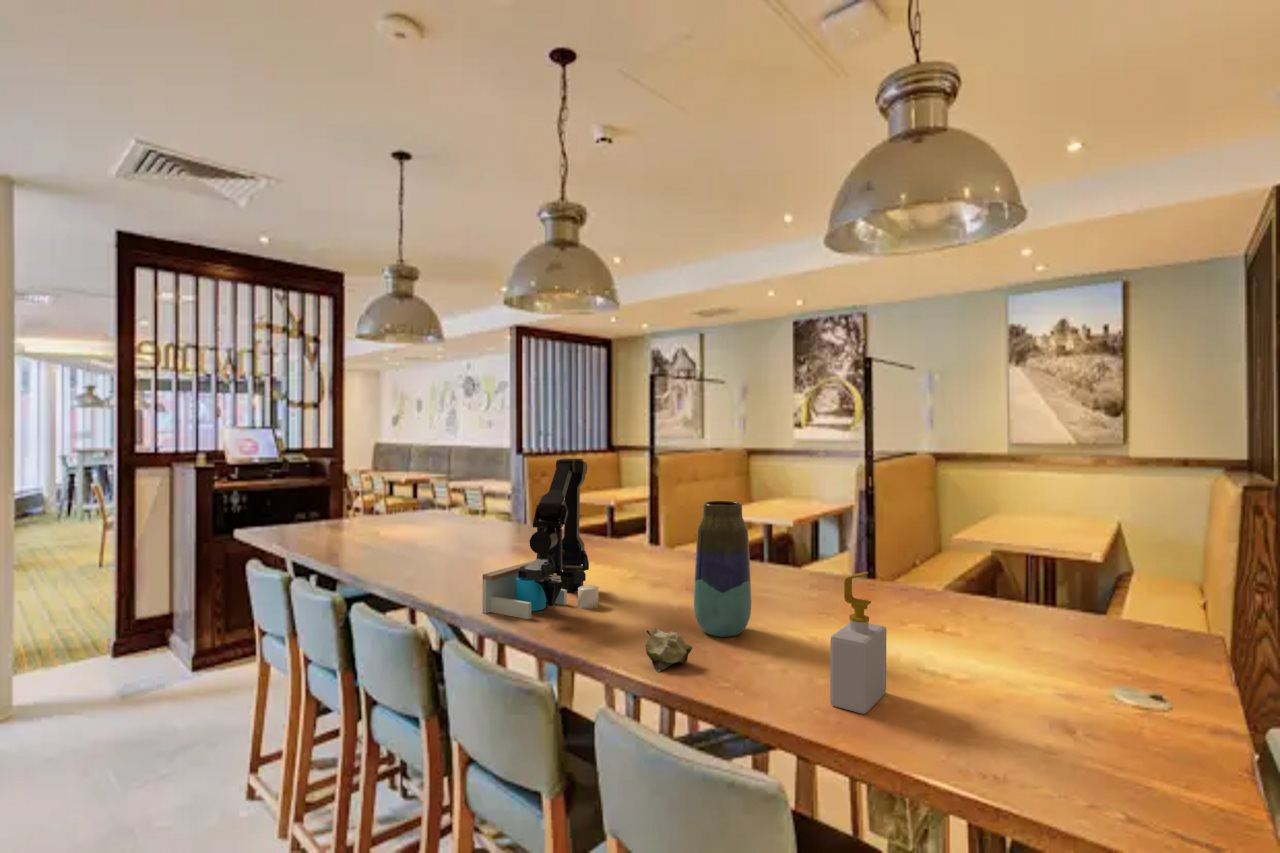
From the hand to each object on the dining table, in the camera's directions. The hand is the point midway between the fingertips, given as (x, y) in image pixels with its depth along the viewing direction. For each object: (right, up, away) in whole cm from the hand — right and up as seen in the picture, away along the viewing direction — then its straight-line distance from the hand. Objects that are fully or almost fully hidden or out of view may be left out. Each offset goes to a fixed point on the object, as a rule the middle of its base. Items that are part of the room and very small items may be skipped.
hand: (551, 606), depth 175 cm
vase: (+44, -2, -16) cm, 46 cm away
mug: (-7, -2, +6) cm, 10 cm away
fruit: (+29, -2, -36) cm, 47 cm away
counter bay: (-7, -2, +4) cm, 8 cm away
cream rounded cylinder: (+9, -2, +7) cm, 12 cm away
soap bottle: (+64, -2, -54) cm, 84 cm away
